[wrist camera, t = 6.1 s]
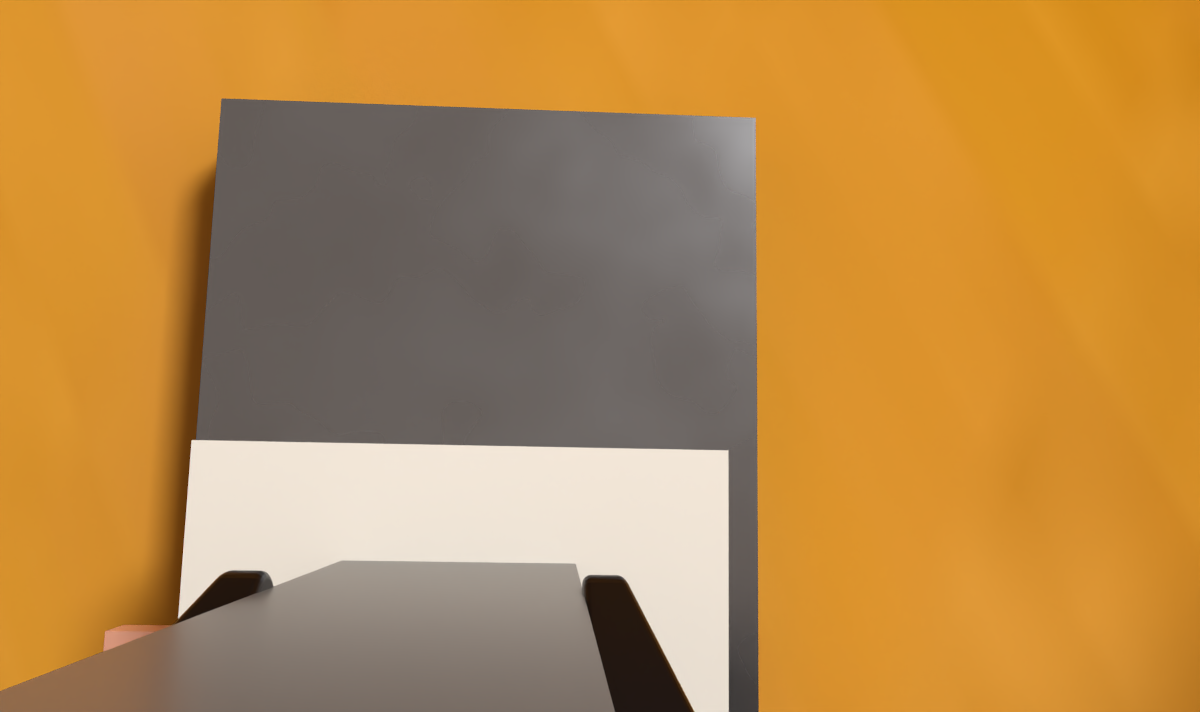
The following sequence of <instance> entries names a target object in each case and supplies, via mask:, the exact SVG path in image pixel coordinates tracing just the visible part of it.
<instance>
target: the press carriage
mask: <svg viewBox="0 0 1200 712" xmlns="http://www.w3.org/2000/svg"><path fill="white" fill-rule="evenodd" d="M231 570H258V571H265V572H267V573H268V574H269V575H270V577H271V579H272V582H273V586H274V587H272V588H270V589H267V590H264V591H262V592H259V593H255V594H253V595H250V596H248V597H245V598H242V599H240V600H237V601H234V602H232V603H229V604H227V605H224V606H221V607H219V608H216V609H214V610H211V611H208V612H206V613H203V614H201V615H198V616H195V617H193V618H190V619H187V620H185V621H182V622H180V623H177V624H174V625H122V626H119V627H116V628H113V629H110V630H107V631H105V639H104V651H103V652H101V653H99V654H96V655H93V656H91V657H88V658H86V659H83V660H80V661H78V662H75V663H73V664H70V665H67V666H65V667H62V668H59V669H57V670H54V671H52V672H49V673H46V674H44V675H41V676H39V677H36V678H33V679H31V680H28V681H26V682H23V683H20V684H18V685H15V686H12V687H10V688H7V689H5V690H2V691H0V712H615V710H614V706H613V703H612V699H611V695H610V691H609V688H608V684H607V680H606V676H605V672H604V669H603V665H602V661H601V657H600V654H599V650H598V646H597V642H596V638H595V635H594V631H593V627H592V623H591V620H590V616H589V612H588V608H587V605H586V601H585V597H584V596H583V594H582V582H583V579H584V578H585V577H586V576H588V575H619V576H622V577H623V578H624V579H625V580H626V581H627V582H628V584H629V586H630V588H631V590H632V592H633V594H634V596H635V598H636V599H637V601H638V603H639V605H640V607H641V609H642V611H643V613H644V615H645V617H646V619H647V621H648V623H649V625H650V627H651V629H652V630H653V632H654V634H655V636H656V638H657V640H658V642H659V644H660V646H661V648H662V650H663V652H664V654H665V656H666V658H667V660H668V661H669V663H670V665H671V667H672V669H673V671H674V673H675V675H676V677H677V679H678V681H679V683H680V685H681V687H682V689H683V691H684V692H685V694H686V696H687V698H688V700H689V702H690V704H691V706H692V708H693V710H694V712H729V462H728V450H682V449H630V448H578V447H526V446H475V445H423V444H371V443H319V442H268V441H216V440H192V441H191V455H190V468H189V481H188V494H187V507H186V521H185V534H184V547H183V560H182V573H181V587H180V600H179V613H178V618H179V617H180V616H181V615H182V614H183V613H184V612H185V611H186V610H187V609H188V608H189V607H190V606H191V605H192V604H193V603H194V602H195V601H196V600H197V599H198V597H199V596H200V595H201V594H202V593H203V592H204V591H205V590H206V589H207V588H208V587H209V586H210V585H211V584H212V583H213V582H214V581H215V580H216V579H217V578H218V577H219V576H220V575H221V574H223V573H225V572H227V571H231Z"/></svg>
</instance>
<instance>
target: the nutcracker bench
mask: <svg viewBox="0 0 1200 712" xmlns="http://www.w3.org/2000/svg"><path fill="white" fill-rule="evenodd" d="M196 440H216V441H268V442H319V443H371V444H423V445H475V446H526V447H578V448H630V449H682V450H728V462H729V712H758V521H757V320H756V118H742V117H714V116H687V115H659V114H632V113H604V112H577V111H549V110H522V109H494V108H467V107H439V106H412V105H384V104H357V103H329V102H302V101H274V100H247V99H222V101H221V114H220V127H219V140H218V154H217V167H216V180H215V194H214V207H213V220H212V234H211V247H210V260H209V273H208V287H207V300H206V313H205V327H204V340H203V353H202V367H201V380H200V393H199V407H198V420H197V433H196Z"/></svg>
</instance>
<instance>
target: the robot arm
mask: <svg viewBox="0 0 1200 712" xmlns="http://www.w3.org/2000/svg"><path fill="white" fill-rule="evenodd" d="M272 587H274V586H273V582H272V579H271V577H270V575H269V574H268V573H267V572H265V571H258V570H231V571H227V572H225V573H223V574H221V575H220V576H219V577H218V578H217V579H216V580H215V581H214V582H213V583H212V584H211V585H210V586H209V587H208V588H207V589H206V590H205V591H204V592H203V593H202V594H201V595H200V596H199V597H198V599H197V600H196V601H195V602H194V603H193V604H192V605H191V606H190V607H189V608H188V609H187V610H186V611H185V612H184V613H183V614H182V615H181V616H180V617H179V618H178V619H177V621H176V622H175V623H174V624H177V623H180V622H182V621H185V620H187V619H190V618H193V617H195V616H198V615H201V614H203V613H206V612H208V611H211V610H214V609H216V608H219V607H221V606H224V605H227V604H229V603H232V602H234V601H237V600H240V599H242V598H245V597H248V596H250V595H253V594H255V593H259V592H262V591H264V590H267V589H270V588H272ZM582 594H583V596H584V597H585V601H586V605H587V608H588V612H589V616H590V620H591V623H592V627H593V631H594V635H595V638H596V642H597V646H598V650H599V654H600V657H601V661H602V665H603V669H604V672H605V676H606V680H607V684H608V688H609V691H610V695H611V699H612V703H613V706H614V710H615V712H694V710H693V708H692V706H691V704H690V702H689V700H688V698H687V696H686V694H685V692H684V691H683V689H682V687H681V685H680V683H679V681H678V679H677V677H676V675H675V673H674V671H673V669H672V667H671V665H670V663H669V661H668V660H667V658H666V656H665V654H664V652H663V650H662V648H661V646H660V644H659V642H658V640H657V638H656V636H655V634H654V632H653V630H652V629H651V627H650V625H649V623H648V621H647V619H646V617H645V615H644V613H643V611H642V609H641V607H640V605H639V603H638V601H637V599H636V598H635V596H634V594H633V592H632V590H631V588H630V586H629V584H628V582H627V581H626V580H625V579H624V578H623V577H622V576H619V575H588V576H586V577H585V578H584V579H583V582H582ZM174 624H173V625H174Z"/></svg>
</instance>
